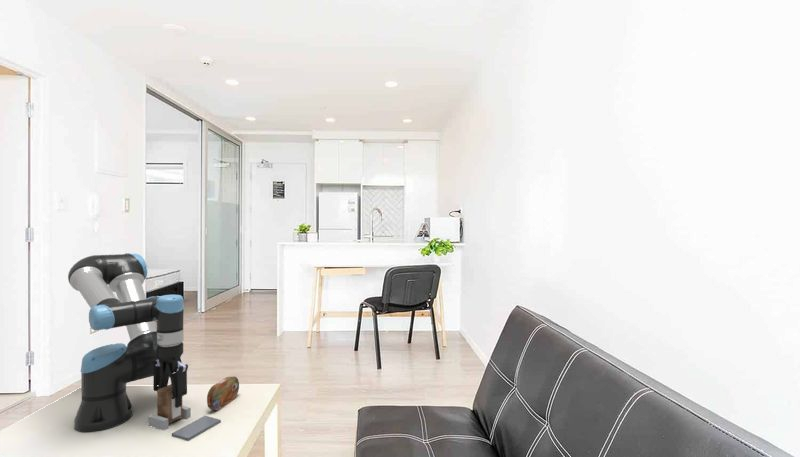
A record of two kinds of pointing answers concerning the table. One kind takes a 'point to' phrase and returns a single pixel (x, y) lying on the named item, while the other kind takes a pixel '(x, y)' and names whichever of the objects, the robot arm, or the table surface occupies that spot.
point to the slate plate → (196, 428)
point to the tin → (222, 393)
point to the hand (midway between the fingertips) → (169, 414)
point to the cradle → (163, 422)
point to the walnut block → (166, 403)
